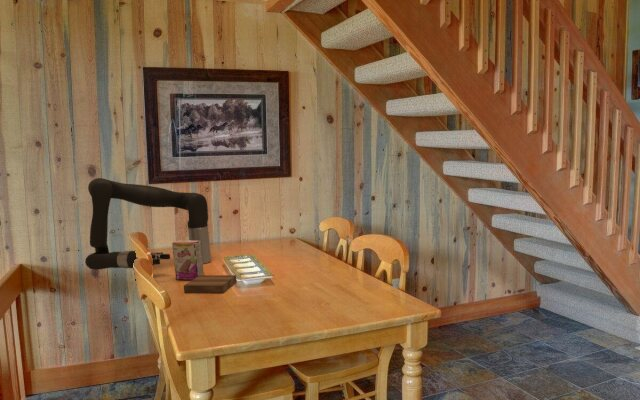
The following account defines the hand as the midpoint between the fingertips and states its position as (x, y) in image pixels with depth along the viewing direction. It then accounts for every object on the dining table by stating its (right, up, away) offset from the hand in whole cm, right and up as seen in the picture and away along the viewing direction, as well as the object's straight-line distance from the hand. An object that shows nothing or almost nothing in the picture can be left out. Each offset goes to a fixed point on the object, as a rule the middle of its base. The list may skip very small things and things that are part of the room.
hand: (164, 259), depth 227 cm
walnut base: (+23, -10, -16) cm, 30 cm away
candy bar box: (+11, -9, -1) cm, 14 cm away
